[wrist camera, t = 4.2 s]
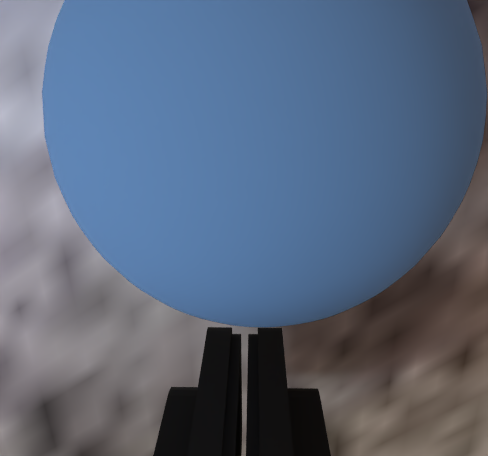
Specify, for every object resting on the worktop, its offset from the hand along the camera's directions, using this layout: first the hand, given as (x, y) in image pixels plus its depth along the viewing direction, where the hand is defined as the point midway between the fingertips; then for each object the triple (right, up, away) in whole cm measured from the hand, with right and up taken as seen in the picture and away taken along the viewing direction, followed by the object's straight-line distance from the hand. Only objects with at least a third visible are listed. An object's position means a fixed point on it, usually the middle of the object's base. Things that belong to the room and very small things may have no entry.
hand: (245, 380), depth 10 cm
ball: (0, +5, -4) cm, 6 cm away
